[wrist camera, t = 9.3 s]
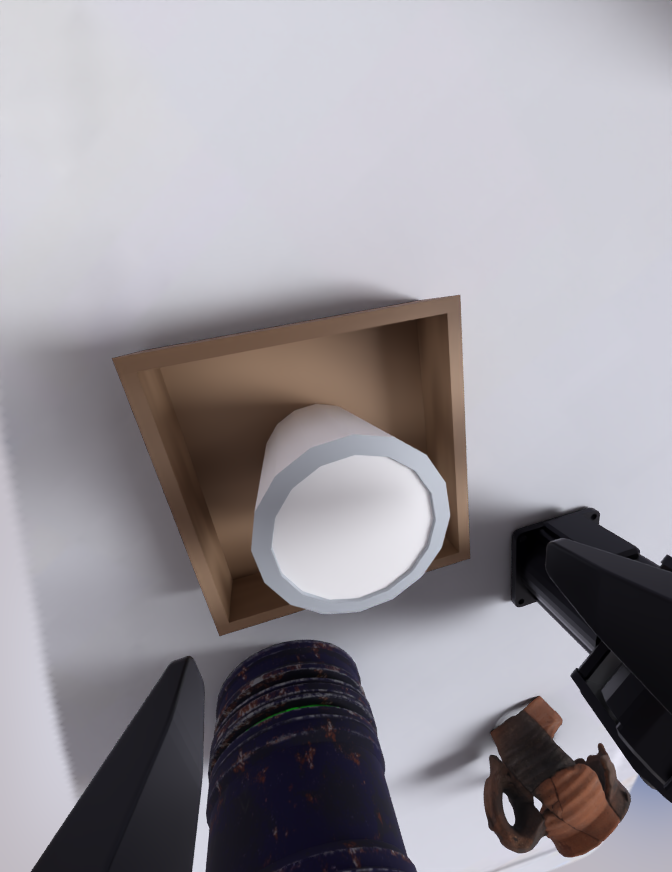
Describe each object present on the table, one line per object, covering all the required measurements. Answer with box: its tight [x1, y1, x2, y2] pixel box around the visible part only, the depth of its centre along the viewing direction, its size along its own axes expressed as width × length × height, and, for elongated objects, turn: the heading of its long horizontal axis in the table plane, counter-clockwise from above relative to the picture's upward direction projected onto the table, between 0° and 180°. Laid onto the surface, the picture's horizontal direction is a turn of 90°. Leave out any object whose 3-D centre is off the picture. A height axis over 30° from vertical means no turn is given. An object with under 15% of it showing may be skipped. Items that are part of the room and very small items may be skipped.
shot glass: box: [251, 404, 450, 614], centre depth 15 cm, size 7×7×7 cm
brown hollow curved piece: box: [484, 696, 631, 857], centre depth 29 cm, size 12×10×8 cm
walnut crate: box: [112, 295, 470, 636], centre depth 17 cm, size 13×13×4 cm
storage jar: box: [206, 640, 417, 872], centre depth 17 cm, size 10×10×15 cm
